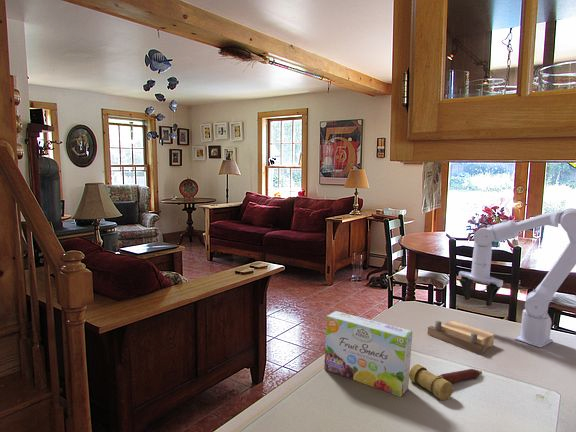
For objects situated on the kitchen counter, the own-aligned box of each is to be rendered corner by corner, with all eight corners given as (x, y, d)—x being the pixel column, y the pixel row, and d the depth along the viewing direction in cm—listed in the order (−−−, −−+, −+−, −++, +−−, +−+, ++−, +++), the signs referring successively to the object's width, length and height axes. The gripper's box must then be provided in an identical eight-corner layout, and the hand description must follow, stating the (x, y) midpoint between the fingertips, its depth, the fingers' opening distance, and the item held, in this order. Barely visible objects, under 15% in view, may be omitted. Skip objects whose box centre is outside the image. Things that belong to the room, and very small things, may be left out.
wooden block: (451, 331, 142) (452, 320, 141) (493, 346, 131) (494, 334, 130) (438, 337, 137) (439, 325, 136) (480, 352, 126) (481, 339, 125)
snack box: (322, 370, 110) (325, 315, 108) (333, 363, 114) (335, 309, 113) (401, 398, 98) (406, 336, 96) (409, 388, 102) (413, 329, 101)
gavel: (466, 356, 115) (499, 372, 106) (464, 372, 116) (497, 389, 107) (409, 365, 105) (440, 383, 97) (407, 382, 106) (438, 402, 97)
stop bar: (431, 333, 139) (432, 318, 138) (484, 353, 125) (485, 337, 124) (427, 334, 137) (428, 319, 137) (480, 354, 123) (482, 338, 123)
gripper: (508, 266, 138) (504, 306, 140) (467, 257, 150) (464, 294, 151) (498, 268, 134) (494, 309, 136) (456, 259, 146) (453, 297, 147)
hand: (477, 302), depth 143 cm, fingers open, 7 cm apart
